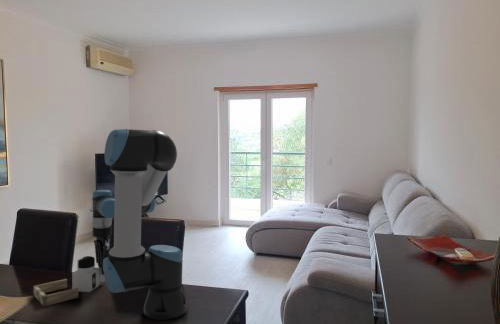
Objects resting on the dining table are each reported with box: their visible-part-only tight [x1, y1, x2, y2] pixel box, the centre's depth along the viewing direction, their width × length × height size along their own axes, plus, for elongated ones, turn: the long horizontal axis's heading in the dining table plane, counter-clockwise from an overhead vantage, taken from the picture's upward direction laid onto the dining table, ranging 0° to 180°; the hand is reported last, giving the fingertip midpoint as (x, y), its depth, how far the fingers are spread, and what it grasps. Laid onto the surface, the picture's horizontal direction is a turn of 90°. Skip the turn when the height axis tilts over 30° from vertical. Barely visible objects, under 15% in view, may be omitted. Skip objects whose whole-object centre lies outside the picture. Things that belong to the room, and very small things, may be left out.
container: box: [71, 255, 100, 293], centre depth 152 cm, size 8×8×13 cm
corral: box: [32, 278, 79, 307], centre depth 144 cm, size 14×12×4 cm
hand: (102, 281), depth 156 cm, fingers closed
